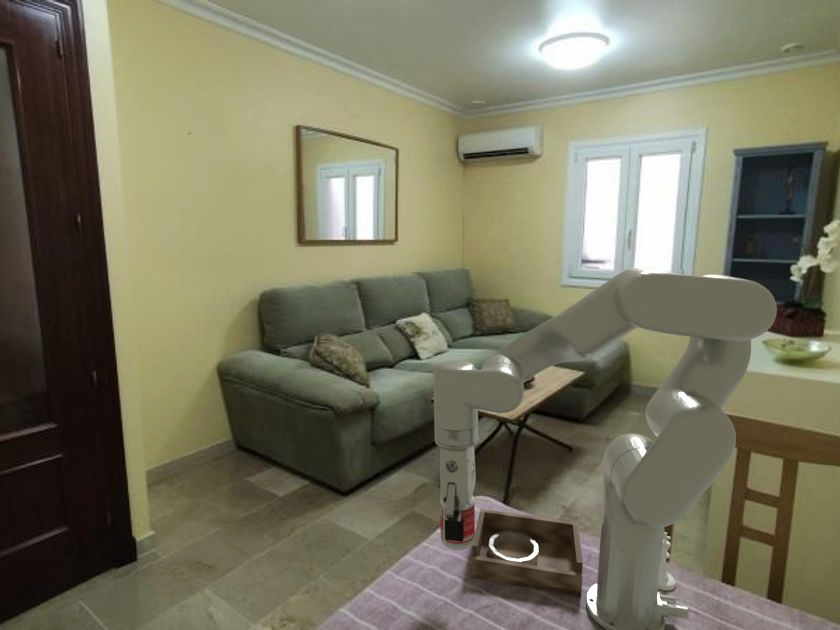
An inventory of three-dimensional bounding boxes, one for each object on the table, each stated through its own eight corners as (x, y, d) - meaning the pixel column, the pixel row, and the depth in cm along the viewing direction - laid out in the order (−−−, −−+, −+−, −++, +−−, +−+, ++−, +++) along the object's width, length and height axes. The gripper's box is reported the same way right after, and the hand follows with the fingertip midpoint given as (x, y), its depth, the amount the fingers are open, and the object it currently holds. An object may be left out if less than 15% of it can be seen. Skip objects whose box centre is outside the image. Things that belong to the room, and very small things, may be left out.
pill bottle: (482, 543, 86) (481, 485, 85) (454, 556, 83) (453, 496, 81) (460, 526, 92) (459, 471, 90) (433, 538, 88) (432, 481, 86)
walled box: (575, 548, 101) (577, 522, 100) (581, 596, 88) (583, 566, 87) (479, 534, 106) (480, 508, 105) (470, 577, 92) (471, 548, 91)
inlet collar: (537, 543, 101) (538, 534, 101) (537, 574, 92) (538, 564, 91) (491, 536, 103) (491, 528, 103) (486, 565, 94) (487, 556, 94)
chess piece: (674, 594, 88) (679, 544, 87) (645, 584, 91) (649, 535, 89) (676, 578, 93) (681, 530, 91) (647, 569, 95) (652, 522, 93)
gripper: (471, 456, 75) (472, 562, 78) (483, 416, 92) (483, 504, 94) (423, 452, 77) (426, 555, 80) (444, 414, 93) (445, 500, 96)
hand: (457, 527), depth 87 cm, fingers closed on pill bottle, 6 cm apart
